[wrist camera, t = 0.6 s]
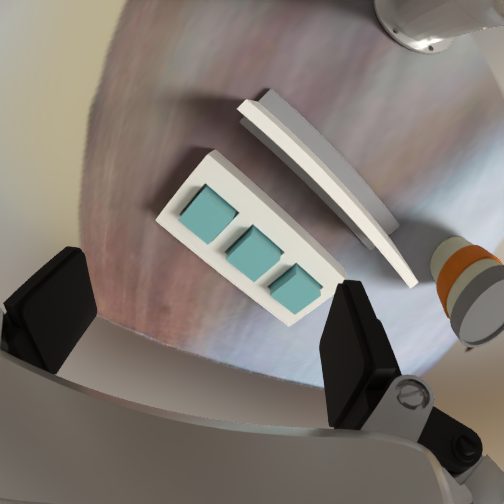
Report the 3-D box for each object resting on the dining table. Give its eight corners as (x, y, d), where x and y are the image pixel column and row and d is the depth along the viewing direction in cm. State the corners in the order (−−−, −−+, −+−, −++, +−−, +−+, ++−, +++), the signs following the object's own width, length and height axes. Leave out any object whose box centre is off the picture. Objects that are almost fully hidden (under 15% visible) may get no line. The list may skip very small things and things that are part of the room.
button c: (295, 260, 41) (296, 274, 38) (318, 281, 42) (321, 295, 39) (271, 281, 43) (270, 295, 40) (294, 300, 44) (294, 314, 41)
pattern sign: (271, 88, 32) (265, 79, 21) (398, 223, 39) (434, 269, 28) (239, 121, 35) (218, 129, 23) (368, 248, 41) (394, 301, 30)
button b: (253, 223, 39) (251, 234, 36) (280, 247, 40) (280, 259, 37) (230, 247, 41) (225, 259, 38) (256, 269, 42) (254, 282, 39)
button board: (215, 149, 37) (207, 153, 33) (344, 268, 43) (348, 283, 40) (165, 209, 42) (155, 220, 38) (289, 310, 48) (289, 326, 45)
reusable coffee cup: (407, 271, 42) (442, 334, 29) (452, 212, 37) (506, 259, 24) (446, 299, 44) (479, 356, 31) (487, 249, 39) (532, 298, 25)
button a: (208, 184, 37) (201, 192, 34) (237, 209, 38) (232, 218, 35) (186, 210, 39) (177, 220, 36) (213, 233, 40) (207, 245, 37)
